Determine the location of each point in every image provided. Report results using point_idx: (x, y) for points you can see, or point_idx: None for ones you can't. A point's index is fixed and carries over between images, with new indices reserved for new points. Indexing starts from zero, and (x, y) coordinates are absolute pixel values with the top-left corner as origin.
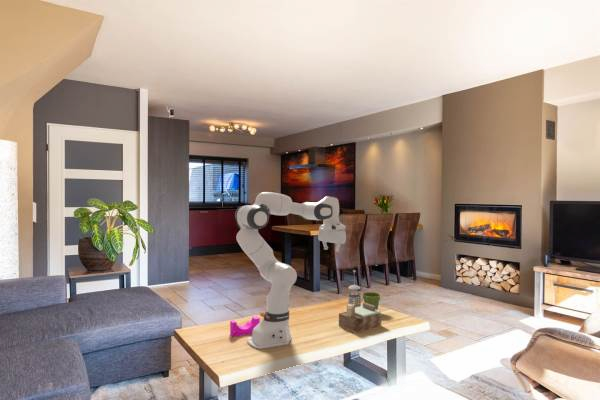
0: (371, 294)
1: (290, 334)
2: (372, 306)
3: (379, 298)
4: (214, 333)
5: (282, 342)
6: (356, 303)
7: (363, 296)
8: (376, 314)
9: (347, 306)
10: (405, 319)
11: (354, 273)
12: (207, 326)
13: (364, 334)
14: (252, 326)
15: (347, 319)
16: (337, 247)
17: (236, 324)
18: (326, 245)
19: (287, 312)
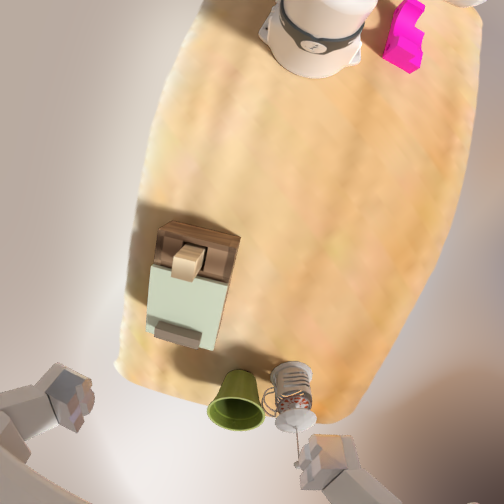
0: (249, 423)
1: (283, 59)
2: (156, 328)
3: (212, 409)
4: (433, 12)
5: (268, 23)
6: (279, 383)
7: (252, 399)
8: None
9: (193, 258)
10: (153, 376)
11: (298, 458)
12: (473, 41)
13: (149, 230)
14: (392, 37)
15: (194, 235)
16: (16, 394)
17: (404, 3)
18: (332, 495)
19: (283, 12)
